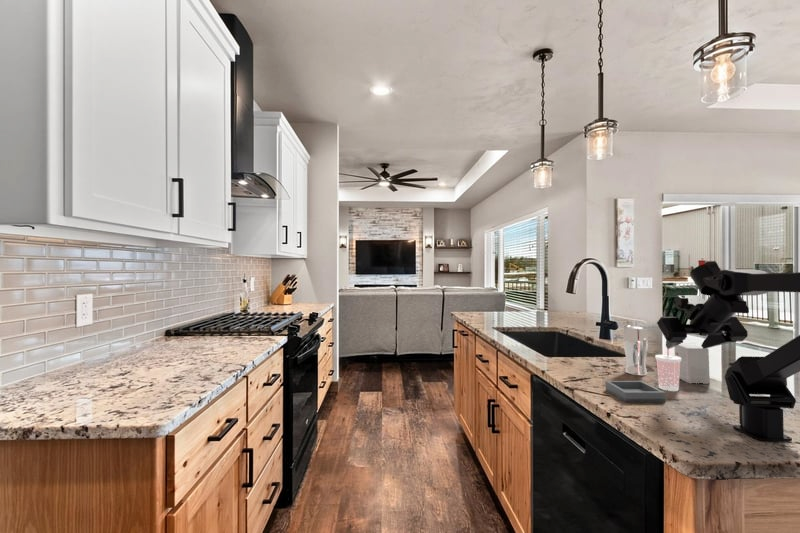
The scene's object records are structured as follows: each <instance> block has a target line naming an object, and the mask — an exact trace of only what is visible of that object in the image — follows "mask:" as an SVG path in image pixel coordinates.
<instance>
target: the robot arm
mask: <svg viewBox="0 0 800 533" xmlns="http://www.w3.org/2000/svg"><path fill="white" fill-rule="evenodd" d="M689 275H690V276H689V277H690V278H691V279H692V281H693V282H694V284H695V286H696V287H697V289H698V291H699V292H700V294H701V295H704V296H709V297H708V298H707V299H705V298H703V297H702V296H700V295H695V294H694V295H693V294H692V295H689V294H687V295H683V294H682V295H677V296H676V297H675V298H674V299H673V302H672V304H673V306H674V307H675V308H677V309H678V310H683V311H684V312H685V313H686V314H685V318H686V319H687V320H689V323H686V324H685V323H684V324H683V323H682V322H681V321H680V319H679V317H678V316H661V317H660V318H659V319H658V321H657V322H656V325H657V326H658V328H659V329H660V331H661V333H662V336H664V339H665V347H666V350H667V349H669V350H670V349H672V348H674V347H675V346H677V345H679V344H681V343H684V340H686V339H687V338H688V335H699V336H706V338H704V340H703V341H702V343H701V345H700V346H702V347H703V349H705V348H708V349H709V348H714V347H717V346H722V345H726V344H731V343H736V342H743V341H745V340H746V338H747V337H748V335H749V332H748V330H747V329H746V327H745V326H744V325H743V324H742V322H741V321H740V320H739V318H738V317H737V316H734V315H735V314H749V313H750V310H749V306H748V304H747V300H744V299H743V297H742V296H760V295H763V294H764V295H765V294H767V293H770V292H771V293H772V292H773V293H775V292H776V293H778V292H779V293H800V272H798V271H797V272H774V273H773V272H772V273H770V272H767V271H765V270H760V269H755V268H754V269H749V268H748V269H746V268H745V269H744V268H742V269H739V268H738V269H721V268H720V266H719V265H718V263H717V261H716V260H713V261H712V260H706V261H705V262H704V264H701V265H698V266H696V267H694V268H693V269H691V270H690V272H689ZM728 365H729V367H728V368H727V370H726V372H725V375H724V380H725V384H726V390H727V392H728V396H729V400H730V401H732V402H733V404H735V405H738V406H739V407H738V409H739V410H738V412H739V424H734V425H732V428H733V429H735V430H736V431H739V432H741V433H743V434H745V435H747V436H749V437H752V438H753V439H755V440H757V441H760V442H761V441H762V442H763V441H764V442H765V441H766V442H767V441H768V442H774V441H775V442H777V441H778V442H779V441H780V442H781V441H782V442H784V441H785V442H787V441H789V442H791V441H793V437H791V436H789V435H787V434H784V432H785V431H784V428H785V427H784V409H792V410H793V409H794V408H795V406H796V405H795V404H796V402H797V400H796V398H795V397H794V395H793V394H792V391H791V390H790V389H789V388H788V380H787V379H788V378H790V377H792V376H794V375H795V374H798V373H800V334H799V335H797V336H795V337H794V338H792V339H791V340H789V341H788V342H785V343H784V344H782V345H781V346H779V347H778V348H776V349H775V350H773V351H771V352H769V353H768V354H767V355H765V356H752V355H751V356H746V355H745V356H744V355H742V356H740V357H738V358H737V359H736V360H735V361H734V362H729V364H728ZM760 395H761V396H760ZM763 395H764V396H763Z"/></svg>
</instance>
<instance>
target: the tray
mask: <svg viewBox="0 0 800 533" xmlns="http://www.w3.org/2000/svg"><path fill="white" fill-rule="evenodd" d="M605 391H607V392H608V393H610V394H611V395H613V396H615V397H616V398H618V399H619V400H621V401H623V402H624V403H666V392H665V391H664V390H662V389H660V388H657V387H655V386H653V385H651V384H649V383H647V382H645V381H643V380H606V381H605Z"/></svg>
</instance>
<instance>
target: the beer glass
mask: <svg viewBox="0 0 800 533" xmlns="http://www.w3.org/2000/svg"><path fill="white" fill-rule="evenodd" d="M622 331H623V332H622V342H623V344H622V345H623V348H624V349H623V350H624V353H625V362H626V364H625V369H624V372H625V373H626V374H627V373H628V375H632V376H641V377H642V376H647V375H648V371H647V366H646V359H647V354H648V349H649V348H648V347H649V333H648V327H647V326H642V325H623V330H622Z"/></svg>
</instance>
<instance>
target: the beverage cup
mask: <svg viewBox="0 0 800 533" xmlns="http://www.w3.org/2000/svg"><path fill="white" fill-rule="evenodd" d="M654 357H655V360H656V367H657V368H656V369H657V379H658V380H657V381H658V389H659V390H662V391H667V390H668V392H678V390H680V378H679V376H680V362H681V358H680V357H678V356H675V355H671V354H670V349H667V348H666V354H655V356H654Z"/></svg>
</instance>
